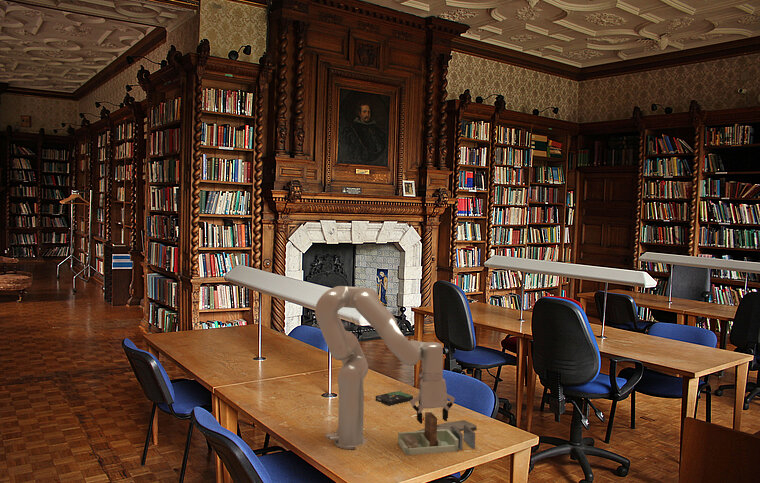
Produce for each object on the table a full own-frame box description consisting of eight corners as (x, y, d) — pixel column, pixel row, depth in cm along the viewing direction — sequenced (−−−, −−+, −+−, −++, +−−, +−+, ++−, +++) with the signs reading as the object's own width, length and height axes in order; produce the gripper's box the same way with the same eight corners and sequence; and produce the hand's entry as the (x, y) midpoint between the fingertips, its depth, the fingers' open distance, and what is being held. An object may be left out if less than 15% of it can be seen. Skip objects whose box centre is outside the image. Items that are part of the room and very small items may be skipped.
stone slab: (405, 430, 238) (463, 415, 254) (405, 438, 239) (463, 422, 255) (420, 439, 230) (479, 423, 246) (420, 447, 230) (479, 430, 246)
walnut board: (430, 450, 220) (430, 418, 220) (424, 443, 227) (425, 412, 226) (436, 450, 221) (437, 418, 220) (430, 443, 228) (431, 412, 227)
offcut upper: (410, 446, 219) (410, 441, 219) (404, 440, 224) (404, 435, 224) (417, 445, 220) (417, 440, 220) (411, 439, 225) (411, 434, 225)
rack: (405, 458, 216) (406, 443, 216) (397, 446, 227) (398, 432, 226) (458, 454, 221) (458, 439, 221) (447, 442, 232) (448, 429, 231)
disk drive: (388, 407, 273) (413, 401, 282) (389, 401, 273) (413, 395, 282) (375, 401, 281) (399, 395, 290) (375, 395, 281) (399, 389, 290)
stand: (459, 452, 222) (460, 434, 222) (451, 443, 231) (451, 425, 230) (474, 451, 223) (475, 433, 223) (465, 442, 232) (466, 424, 232)
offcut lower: (409, 452, 218) (409, 446, 218) (403, 445, 225) (404, 439, 225) (417, 451, 219) (417, 446, 219) (412, 444, 226) (412, 438, 226)
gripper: (413, 380, 217) (413, 426, 218) (458, 377, 221) (458, 422, 222) (407, 375, 224) (407, 420, 225) (450, 371, 228) (450, 416, 229)
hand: (432, 421), depth 223 cm, fingers open, 9 cm apart
